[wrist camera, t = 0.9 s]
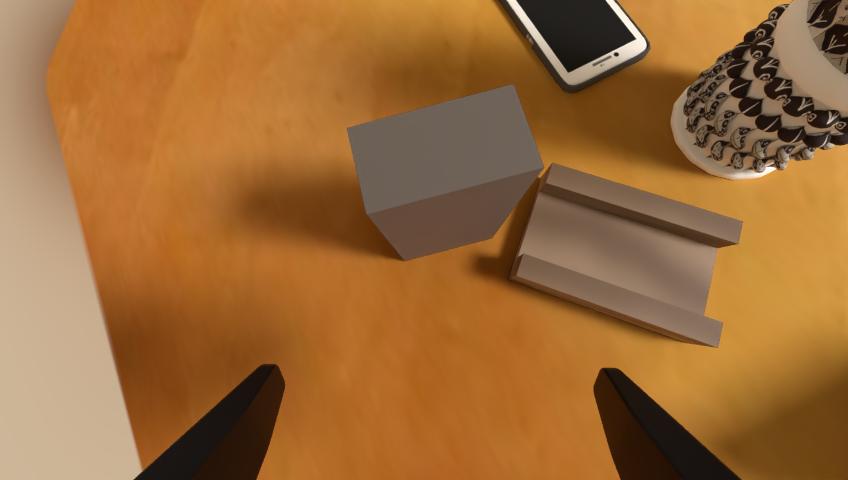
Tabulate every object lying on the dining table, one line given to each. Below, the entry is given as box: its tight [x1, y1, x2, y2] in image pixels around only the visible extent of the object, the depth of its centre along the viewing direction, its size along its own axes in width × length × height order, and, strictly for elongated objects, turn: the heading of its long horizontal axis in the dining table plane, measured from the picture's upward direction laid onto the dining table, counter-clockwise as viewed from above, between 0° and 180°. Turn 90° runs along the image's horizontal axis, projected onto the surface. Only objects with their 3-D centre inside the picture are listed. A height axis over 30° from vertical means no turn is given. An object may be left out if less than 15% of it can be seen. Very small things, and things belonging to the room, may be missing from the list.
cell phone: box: [499, 0, 650, 93], centre depth 27 cm, size 8×15×1 cm, turn 27°
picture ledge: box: [508, 163, 743, 348], centre depth 21 cm, size 8×12×2 cm, turn 70°
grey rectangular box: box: [347, 84, 544, 261], centre depth 18 cm, size 4×6×12 cm, turn 104°
